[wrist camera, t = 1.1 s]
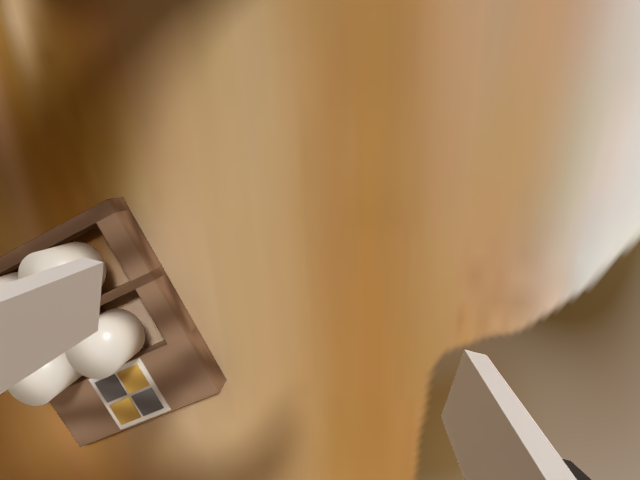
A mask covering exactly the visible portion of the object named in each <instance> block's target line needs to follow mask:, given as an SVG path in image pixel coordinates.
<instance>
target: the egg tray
mask: <svg viewBox="0 0 640 480" xmlns="http://www.w3.org/2000/svg"><path fill="white" fill-rule="evenodd" d="M96 227H99V228H100V230H101V232H102V234H103V235H104V237H105V239H106V240H107V242H108V244H109V245H110V247H111V249H112V251H113V252H114V254H115V256H116V257H117V259H118V261H119V262H120V264H121V266H122V268H123V269H124V271H125V273H126V274H127V276H128V278H129V279H130V281H129V282H127V283H125V284H123V285H121V286H119V287H116V288H114V289H112V290H110V291H108V292H106V293H104V294H102V295H101V299H100V306H101V305H103V304H105V303H108V302H110V301H112V300H114V299H116V298H118V297H120V296H122V295H124V294H127V293H129V292H131V291H133V290H136V291H137V293H138V295H139V296H140V298H141V300H142V302H143V303H144V305H145V307H146V308H147V310H148V312H149V313H150V315H151V317H152V319H153V320H154V322H155V324H156V325H157V327H158V329H159V330H160V332H161V334H162V336H163V337H164V339H165V340H163V341H161V342H159V343H157V344H154V345H152V346H150V347H147V348H145V349H143V350H140V351H139V352H137V353H136V354H135V355H134V356H133V357H132V358H130V359H129V360H128V361H127V362H126V363H125V364H124V365H122V366H121V367H120V368H119V369H118V370H117V371H116V372H114V373H113V374H112V375H111V376H109V377H107V378H103V379H91V378H88V377H85V376H81V377H80V378H79V379H77V380H76V381H75V382H73V383H72V384H71V385H69V386H68V387H67V388H66V389H64V390H63V391H62V392H60V393H59V394H58V395H57V396H55V397H54V398H53V399H51V400H50V401H49V402H50V403H51V405H52V406H53V408H54V409H55V411H56V412H57V414H58V415H59V417H60V418H61V420H62V421H63V422H64V424H65V425H66V427H67V428H68V430H69V431H70V433H71V434H72V436H73V437H74V439H75V440H76V442H77V443H78V445H79V446H80V447H82V446H84V445H87V444H89V443H92V442H94V441H97V440H99V439H102V438H105V437H107V436H110V435H112V434H115V433H117V432H120V431H122V430H125V429H127V428H130V427H133V426H135V425H138V424H140V423H143V422H145V421H148V420H150V419H153V418H155V417H158V416H161V415H163V414H166V413H168V412H171V411H173V410H176V409H178V408H181V407H183V406H186V405H189V404H191V403H194V402H196V401H199V400H201V399H204V398H206V397H209V396H211V395H214V394H217V393H219V392H220V390H221V388H222V387H223V385H224V383H225V381H226V378H225V376H224V374H223V373H222V371H221V369H220V367H219V366H218V364H217V362H216V360H215V359H214V357H213V355H212V353H211V352H210V350H209V348H208V346H207V345H206V343H205V341H204V339H203V338H202V336H201V334H200V332H199V330H198V329H197V327H196V325H195V323H194V322H193V320H192V318H191V316H190V315H189V313H188V311H187V309H186V308H185V306H184V304H183V302H182V301H181V299H180V297H179V295H178V294H177V292H176V290H175V288H174V287H173V285H172V283H171V281H170V279H169V278H168V276H167V274H166V272H165V271H164V269H163V267H162V265H161V264H160V262H159V260H158V258H157V257H156V255H155V253H154V251H153V250H152V248H151V246H150V244H149V243H148V241H147V239H146V237H145V235H144V234H143V232H142V230H141V228H140V227H139V225H138V223H137V221H136V220H135V218H134V216H133V214H132V213H131V211H130V209H129V207H128V206H127V204H126V202H125V200H124V199H123V197H121V198H114V199H107V200H105V201H103V202H102V203H100V204H98V205H96V206H94V207H92V208H90V209H89V210H87V211H85V212H83V213H81V214H79V215H77V216H75V217H74V218H72V219H70V220H68V221H66V222H64V223H62V224H61V225H59V226H57V227H55V228H53V229H51V230H49V231H47V232H46V233H44V234H42V235H40V236H38V237H36V238H34V239H33V240H31V241H29V242H27V243H25V244H23V245H21V246H19V247H18V248H16V249H14V250H12V251H10V252H8V253H6V254H4V255H3V256H1V257H0V276H4V275H7V274H10V272H12V271H13V270H15V269H17V268H19V266H20V263H21V262H22V260H23V259H24V258H25V257H26V256H27V255H29V254H31V253H33V252H37V251H41V250H44V249H48V248H52V247H56V246H59V245H63V244H65V243H67V242H69V241H71V240H73V239H75V238H77V237H79V236H81V235H82V234H84V233H86V232H88V231H90V230H92V229H94V228H96ZM103 312H104V311H103V310H102V308H101V307H100V312H99V315H100V314H102V313H103Z"/></svg>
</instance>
